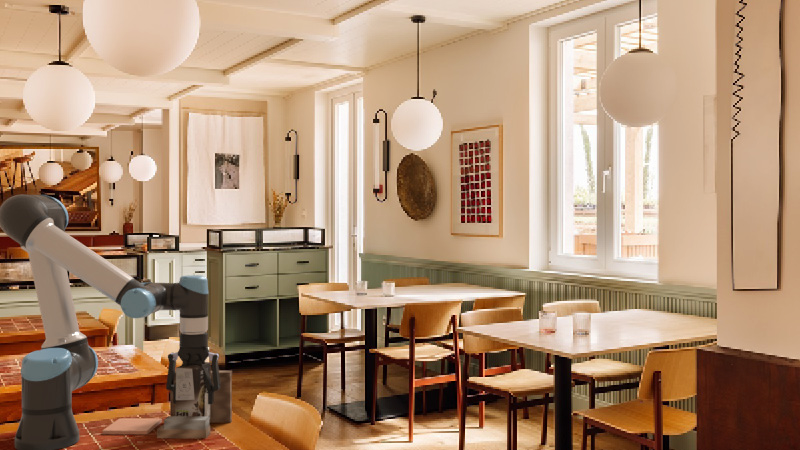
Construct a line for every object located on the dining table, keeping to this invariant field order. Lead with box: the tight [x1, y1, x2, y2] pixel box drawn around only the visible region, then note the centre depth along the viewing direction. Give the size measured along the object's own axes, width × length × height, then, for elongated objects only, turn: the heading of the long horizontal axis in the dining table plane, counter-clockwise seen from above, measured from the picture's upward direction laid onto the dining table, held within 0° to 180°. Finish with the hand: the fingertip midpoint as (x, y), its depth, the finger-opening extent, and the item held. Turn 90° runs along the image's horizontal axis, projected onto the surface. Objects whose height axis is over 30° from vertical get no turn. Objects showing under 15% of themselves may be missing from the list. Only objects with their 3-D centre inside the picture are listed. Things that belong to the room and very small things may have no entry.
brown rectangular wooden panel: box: [169, 369, 233, 423], centre depth 218 cm, size 17×3×14 cm, turn 89°
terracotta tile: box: [102, 417, 163, 435], centre depth 212 cm, size 12×12×1 cm
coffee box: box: [175, 361, 212, 420], centre depth 212 cm, size 9×6×16 cm
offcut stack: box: [156, 416, 211, 439], centre depth 205 cm, size 13×4×5 cm, turn 88°
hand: (193, 415), depth 212 cm, fingers closed on coffee box, 7 cm apart
